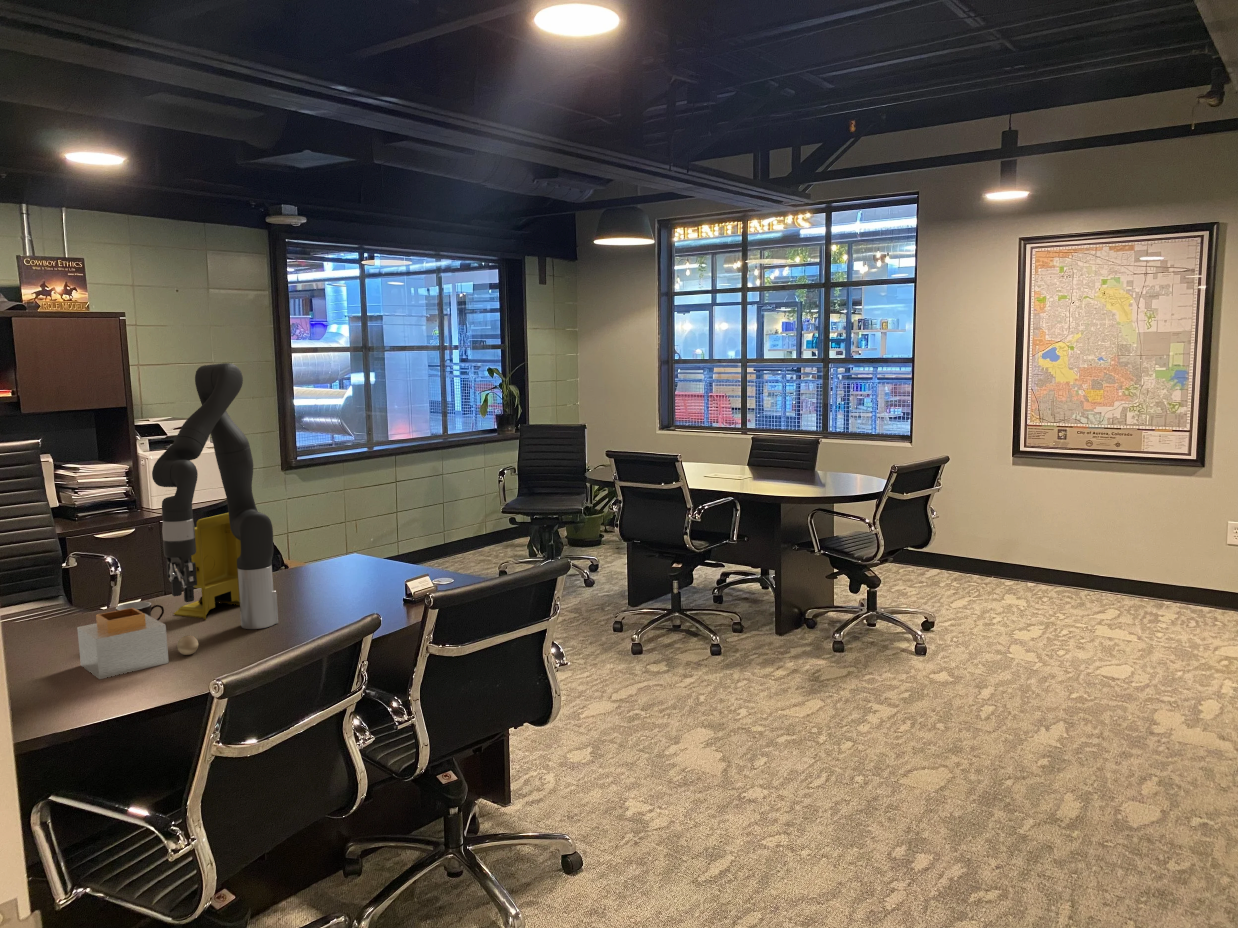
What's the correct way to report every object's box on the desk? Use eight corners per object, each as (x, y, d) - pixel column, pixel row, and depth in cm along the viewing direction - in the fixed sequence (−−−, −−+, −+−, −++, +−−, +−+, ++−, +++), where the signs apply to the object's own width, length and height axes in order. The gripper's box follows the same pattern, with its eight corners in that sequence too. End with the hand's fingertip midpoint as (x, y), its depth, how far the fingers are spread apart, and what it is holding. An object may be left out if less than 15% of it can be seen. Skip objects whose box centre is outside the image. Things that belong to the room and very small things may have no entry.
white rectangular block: (147, 650, 245) (143, 602, 244) (168, 662, 235) (164, 613, 233) (80, 665, 234) (76, 615, 233) (99, 679, 224) (94, 627, 222)
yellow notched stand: (233, 594, 301) (227, 503, 297) (267, 597, 296) (261, 505, 292) (154, 621, 272) (146, 521, 268) (191, 625, 267) (183, 523, 263)
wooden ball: (194, 650, 245) (193, 631, 244) (202, 654, 241) (200, 635, 241) (175, 654, 241) (173, 636, 241) (182, 658, 238) (180, 640, 237)
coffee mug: (118, 648, 247) (115, 611, 246) (119, 639, 255) (115, 604, 254) (166, 641, 253) (163, 605, 251) (165, 633, 260) (163, 598, 259)
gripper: (204, 538, 235) (208, 600, 237) (183, 531, 245) (187, 591, 247) (173, 542, 230) (178, 606, 232) (153, 535, 240) (158, 596, 242)
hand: (183, 598), depth 239 cm, fingers open, 8 cm apart
